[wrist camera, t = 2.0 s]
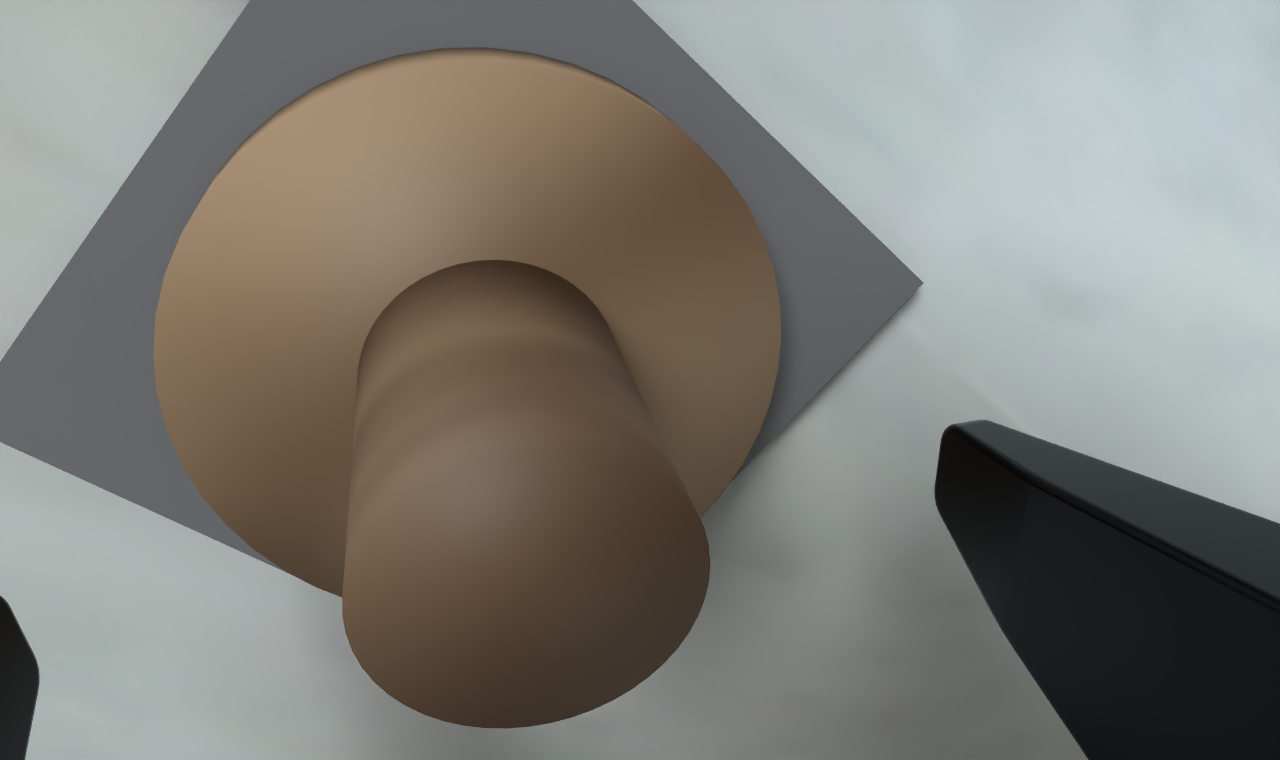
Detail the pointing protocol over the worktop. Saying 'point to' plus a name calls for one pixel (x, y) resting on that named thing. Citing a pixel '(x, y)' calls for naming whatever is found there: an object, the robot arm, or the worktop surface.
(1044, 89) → the worktop surface
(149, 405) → the mat
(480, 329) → the lid
